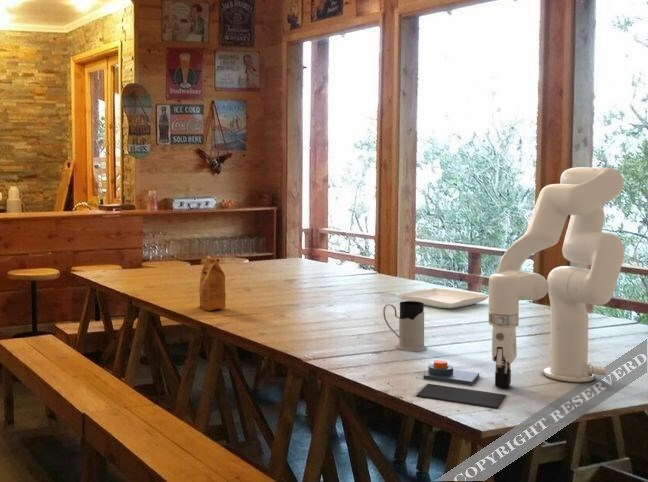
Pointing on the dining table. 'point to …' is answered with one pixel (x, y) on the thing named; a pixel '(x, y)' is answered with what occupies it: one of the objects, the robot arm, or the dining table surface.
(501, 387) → the battery
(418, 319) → the glass holder
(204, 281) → the coffee package
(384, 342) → the dining table surface
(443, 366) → the button
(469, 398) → the desk pad
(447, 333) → the dining table surface
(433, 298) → the square plate
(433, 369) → the grey button base
